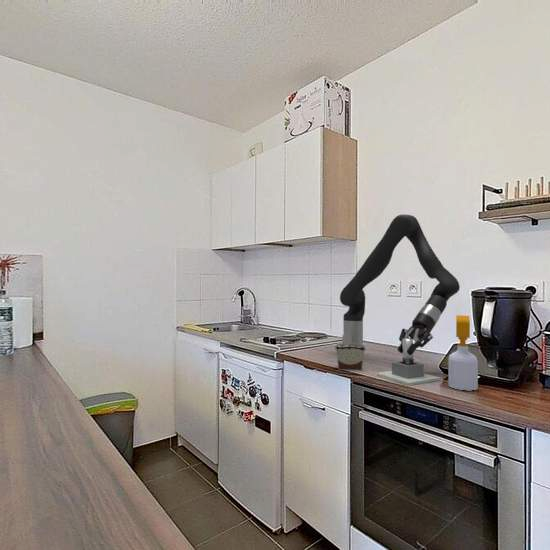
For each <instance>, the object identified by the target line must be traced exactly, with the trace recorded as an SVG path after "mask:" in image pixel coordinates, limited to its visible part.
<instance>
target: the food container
mask: <svg viewBox="0 0 550 550" xmlns="http://www.w3.org/2000/svg"><path fill="white" fill-rule="evenodd" d="M334 350H336V357H337V367H338V369H337V370H338V371H358V372H359V371H363V364H364V363H363V361H364V355H365V354H364V353H365V352H366V347H365V345H364V344H363V345H360V344H352V343H343V344H342V343H338V344H336V345H335V348H334Z"/></svg>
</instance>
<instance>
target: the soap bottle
mask: <svg viewBox="0 0 550 550" xmlns="http://www.w3.org/2000/svg"><path fill="white" fill-rule="evenodd" d="M455 317H456V320H455V322H456V325H455V326H456V328H455V329H456V331H455V332H456V333H455V337H456V338H458V340H459V343H457V349H456V351H453V352H452V353H450V354H449V355H448V369H447V370H448V379H447V381H448V387H450V388H451V389H453V388H454V390H457V389H458V391H462V390H466V391H465V392H473V391H472V390H474V391H477V390H478V389H479V388H478V387H479V384H478V383H479V380H478V379H479V373H478V372H479V370H478V369H479V367H478V366H479V363H478V362H479V360H478V358H477V356H476V355H474V353H471V352H470V351H469V344H468V343H467V342H466V341H468V339H469V338H470V337H471V336H470V334H471V329H470V328H471V327H470V325H471V324H470V323H471V320H470V315H463V314H461V315H460V314H459V315H456V316H455Z"/></svg>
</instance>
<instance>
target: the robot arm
mask: <svg viewBox="0 0 550 550" xmlns="http://www.w3.org/2000/svg"><path fill="white" fill-rule="evenodd" d="M405 237H406V239H407V240H409V242H410V243H411V244H412V246H413V248H414V250H415V253H416V256H417V259H418V262H419V264H420V266H421V267H422V269H423V270H424V272H425V273H426V275H427V277H428V278H429V279H432V280H433V279H436V280H437V282H438V283H437V284H436V286H435V287H434V289H433V290H432V292H431V294H430V296H429V297H428V298H427V301H426V302H425V304H424V305H423V306H422V307H421V309H420V310H419V311H418V312H417V314H416V315H415V317H414V318H413V320H412V322H411V326H410V327H409V328H408V329H406V328H403V327H402V329H401V332H400V334H399V337H398V340H399V342H400V344H399V346H398V347H397V352H399V353H400V354H402V338H412V339H414V340H413V344H411V345H410V347H409V348H408V350H407V353H408V354H409V355H412V354H413V353H415V351H416V350H417V349H419V348H423V347H425V346H426V345H427V344H428V343H429V342H430V341H431V340H433V338H434V336H433V335H432V333H431V332H432V330H433V329H434V327H435V326H436V324H437V323H438V321H439V320H440V317H441V316H442V315H443V312H444V311H445V309H446V308H447V306H448V305H447V302H448V301H449V299H450V298H451V297H453V296H454V295H456V294H457V293H458V292H459V291H460V282H459V280H458V279H457V278H456V277H455V276H454V275H453V274H452V273H451V272H450V271H449V270H448V269H446V267H444V264H443V263H442V262H441V261H440V258H438V256H437V255H436V253H435V251H434V250H433V248H432V247H431V245H430V243H429V242H428V239H427V238H426V236H425V234H424V232H423V229H422V227H421V224H420V223H419V221H418V219H417V217H415V216H414V215H411V214H404V213H403V214H399V215H397V216H396V217H395V216H394V218H393V219H392V221H391V222H390V224H389V226H388V227H387V230H386V231H385V233H384V234H383V236H382V238H381V239H380V240H379V242H378V243H377V245H376V246H375V247H374V249H372V251H371V252H370V254H369V255H368V257H367V258H366V259H365V261H364V262H363V264H362V265H361V267H360V268H359V269H358V270H357V272H356V274H355V275H354V276H353V277H352V279H351V280H350V281H349V282H348V283H347V284H346V285H345V287H343V288H342V290H341V291H340V296H339V301H340V303H341V304H342V305H343V306H345V307H348V310H347V311H346V312H344V314H343V323H342V324H343V330H342V331H343V333H342V337H341V339H342V340H341V341H342V343H341V344H343V343H352V344H360V345H364V321H363V320H364V316H365V314H366V312H365V311H366V295H365V291H364V288H365V287H367V286H368V285H369V284H370V283H372V282H373V281H374V280H376V279H377V278H379V277H380V276H381V275H382V274H383V273H384V271H385V270H386V268H388V265H389V264H390V262H391V260H392V257H393V253H394V251H395V249H396V247H397V246H398V244H399V243H400V242H401V241H402V240H403V239H404V238H405Z"/></svg>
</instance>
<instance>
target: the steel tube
mask: <svg viewBox="0 0 550 550" xmlns="http://www.w3.org/2000/svg"><path fill="white" fill-rule="evenodd" d="M413 340H414V339H412V338H410V337H409V338H402V353H401V355H402V359H401V361H402V363H405V364H413V363H414V362H415V361H414V360H415V359H414V357H415V356H414V353H415V352H414V353H413V354H412V355H409V354H408V353H407V350H408V348H409V347H410V345H411V344H413Z"/></svg>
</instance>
